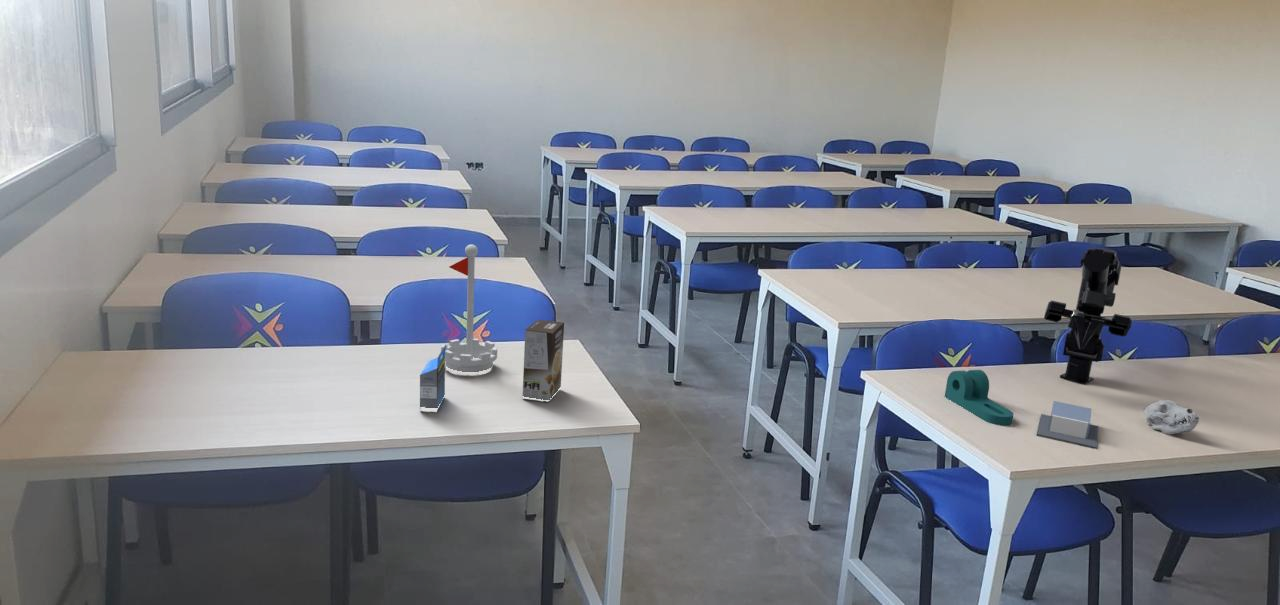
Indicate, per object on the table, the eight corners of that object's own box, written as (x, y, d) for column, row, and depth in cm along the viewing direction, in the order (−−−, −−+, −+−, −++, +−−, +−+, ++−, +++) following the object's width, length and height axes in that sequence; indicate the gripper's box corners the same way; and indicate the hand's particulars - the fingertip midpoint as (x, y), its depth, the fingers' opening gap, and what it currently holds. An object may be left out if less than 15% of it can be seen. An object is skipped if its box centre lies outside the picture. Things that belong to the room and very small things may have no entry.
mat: (1040, 415, 217) (1041, 413, 217) (1097, 427, 212) (1097, 425, 212) (1036, 435, 205) (1036, 433, 204) (1096, 448, 200) (1096, 447, 199)
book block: (1053, 400, 216) (1050, 415, 206) (1091, 408, 212) (1090, 423, 203) (1050, 415, 216) (1047, 430, 207) (1088, 423, 213) (1087, 439, 203)
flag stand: (488, 357, 230) (491, 238, 222) (503, 375, 218) (507, 250, 210) (435, 361, 224) (436, 239, 216) (447, 379, 213) (449, 251, 205)
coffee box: (549, 403, 203) (552, 333, 199) (521, 399, 204) (524, 329, 200) (561, 389, 212) (564, 321, 208) (534, 385, 213) (537, 318, 209)
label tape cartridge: (427, 396, 202) (427, 342, 199) (445, 397, 202) (446, 343, 199) (419, 412, 194) (419, 355, 190) (437, 413, 194) (438, 357, 191)
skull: (1158, 407, 220) (1198, 388, 210) (1170, 443, 216) (1212, 426, 206) (1131, 406, 217) (1171, 387, 207) (1144, 443, 214) (1185, 425, 203)
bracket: (944, 397, 225) (949, 367, 223) (967, 396, 227) (972, 365, 225) (993, 427, 208) (999, 394, 206) (1018, 425, 210) (1024, 392, 208)
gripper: (1057, 269, 226) (1045, 324, 220) (1141, 285, 220) (1132, 343, 214) (1049, 291, 236) (1038, 344, 230) (1130, 308, 230) (1120, 363, 223)
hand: (1081, 348), depth 224 cm, fingers closed
